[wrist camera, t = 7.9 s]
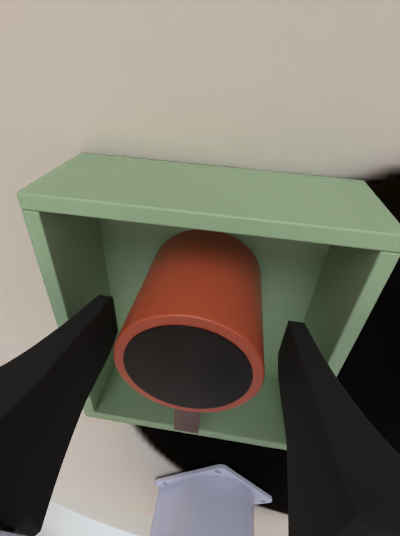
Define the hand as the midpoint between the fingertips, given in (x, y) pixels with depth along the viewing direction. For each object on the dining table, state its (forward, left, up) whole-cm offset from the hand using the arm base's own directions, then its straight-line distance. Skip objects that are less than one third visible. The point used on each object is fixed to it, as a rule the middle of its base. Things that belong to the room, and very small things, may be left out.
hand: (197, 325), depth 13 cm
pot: (-1, -1, -3) cm, 4 cm away
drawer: (-1, -1, -4) cm, 4 cm away
